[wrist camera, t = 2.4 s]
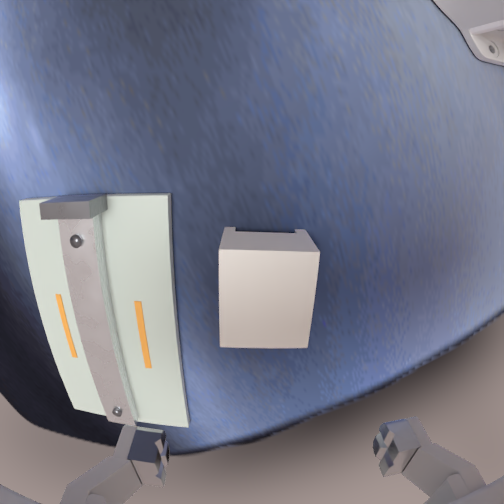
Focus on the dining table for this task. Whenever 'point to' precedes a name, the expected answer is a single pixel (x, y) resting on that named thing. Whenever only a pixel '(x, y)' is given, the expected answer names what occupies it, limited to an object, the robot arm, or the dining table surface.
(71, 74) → the dining table surface
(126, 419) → the rail
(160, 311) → the mounting board
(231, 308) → the block
